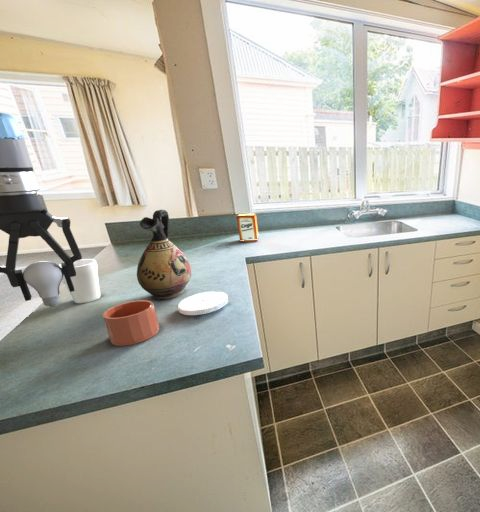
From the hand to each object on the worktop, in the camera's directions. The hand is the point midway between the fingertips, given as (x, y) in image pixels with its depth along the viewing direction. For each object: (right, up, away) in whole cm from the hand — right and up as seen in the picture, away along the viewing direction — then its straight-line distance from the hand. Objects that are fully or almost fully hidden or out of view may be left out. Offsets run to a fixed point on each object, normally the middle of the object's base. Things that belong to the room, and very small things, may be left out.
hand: (51, 293), depth 68 cm
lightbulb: (0, -3, +1) cm, 3 cm away
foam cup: (-25, -6, +33) cm, 42 cm away
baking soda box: (-3, +18, +109) cm, 111 cm away
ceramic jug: (0, -5, +39) cm, 39 cm away
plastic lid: (+18, -8, +29) cm, 35 cm away
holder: (+9, -13, +13) cm, 20 cm away
